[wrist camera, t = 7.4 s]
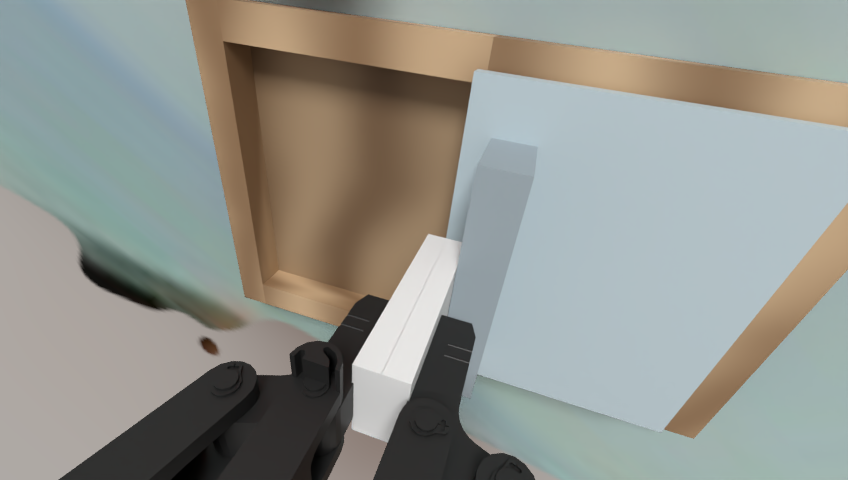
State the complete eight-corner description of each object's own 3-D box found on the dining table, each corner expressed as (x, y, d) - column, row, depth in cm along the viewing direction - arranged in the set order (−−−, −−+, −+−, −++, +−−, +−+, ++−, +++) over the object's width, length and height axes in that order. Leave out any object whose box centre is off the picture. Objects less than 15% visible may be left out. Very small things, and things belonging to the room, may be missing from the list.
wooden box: (265, 278, 25) (244, 296, 23) (221, -4, 16) (184, -7, 15) (681, 404, 20) (693, 438, 18) (931, 95, 11) (995, 107, 10)
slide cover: (430, 346, 20) (407, 406, 17) (478, 68, 13) (453, 83, 9) (656, 417, 18) (679, 501, 15) (876, 132, 10) (1017, 178, 7)
